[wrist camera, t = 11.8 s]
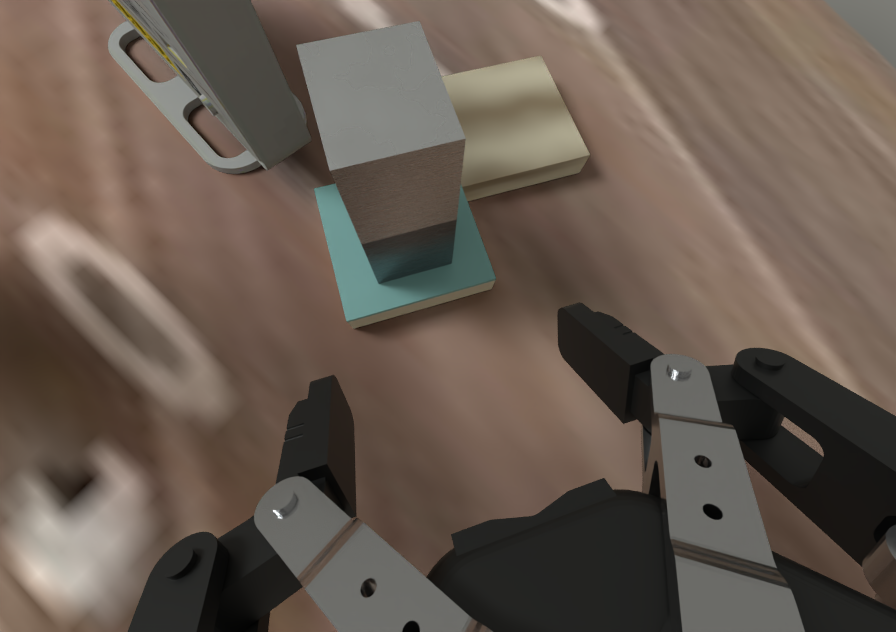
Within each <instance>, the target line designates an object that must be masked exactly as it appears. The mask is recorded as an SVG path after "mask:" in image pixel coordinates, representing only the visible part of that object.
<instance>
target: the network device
mask: <svg viewBox="0 0 896 632" xmlns="http://www.w3.org/2000/svg"><path fill="white" fill-rule="evenodd" d="M108 1H109V2H110V3H111V4H112V5H113V6H114V7H115V8H116V10H117V11H118V12H119V13H120V14H121V15H122V16H123V17H124V18H125V19H126V20H127V21H125V22H124V23H122V24H120V25H119V26H118V27H117V28H116V29H115V30H114V31H113V33H112V34H111V36H110V38H109V41H108V49H109V52H110V54H111V56H112V57H113V58H114V59H115V60H116V62H117V63H118V64H119V65H120V66H121V67H122V68H123V69H124V71H125V72H126V73H127V74H128V75H129V76H130V77H131V78H132V80H133V81H134V82H135V83H136V84H137V85H138V86H139V87H140V89H141V90H142V91H143V92H144V93H145V94H146V95H147V96H148V97H149V99H150V100H151V101H152V102H153V103H154V104H155V105H156V106H157V108H158V109H159V110H160V111H161V112H162V113H163V114H164V115H165V117H166V118H167V119H168V120H169V121H170V122H171V123H172V124H173V126H174V127H175V128H176V129H177V130H178V131H179V132H180V133H181V135H182V136H183V137H184V138H185V139H186V140H187V141H188V142H189V144H190V145H191V146H192V147H193V148H194V149H195V150H196V151H197V153H198V154H199V155H200V156H201V157H202V158H203V159H204V160H205V161H206V163H207V164H208V165H210V166H211V167H212V168H214V169H216V170H217V171H220V172H223V173H227V174H239V173H246V172H248V171H251V170H254V169H256V168H258V167H259V166H261V165H262V166H263V167H264V168H265V169H266V170H269V169H271V168H272V167H274V166H275V165H276V164H278V163H279V162H281V161H282V160H284V159H285V158H287V157H288V156H290V155H291V154H293V153H294V152H296V151H297V150H299V149H300V148H302V147H303V146H305V145H306V144H308V143H309V142H311V136H310V133H309V131H308V129H307V126H306V124H307V117H306V113H305V111H304V108H303V106H302V104H301V102H300V101H299V99H298V98H297V97H296V96H295V95H294V94H293V93H292V92H291V90H290V88H289V86H288V84H287V81H286V79H285V77H284V75H283V72H282V70H281V68H280V66H279V63H278V61H277V59H276V57H275V54H274V52H273V50H272V48H271V45H270V43H269V41H268V39H267V36H266V34H265V32H264V30H263V28H262V25H261V23H260V21H259V19H258V16H257V14H256V12H255V10H254V7H253V5H252V3H251V1H250V0H108ZM139 36H142V37H143V39H144V40H145V41H146V42H147V43H148V44H149V45H150V46H151V47H152V48H153V49H154V50H155V51H156V53H157V54H158V55H159V56H160V57H161V58H162V59H163V60H164V61H165V62H166V63H167V64H168V65H169V66H170V68H171V69H172V70H173V71H174V72H175V73H176V74H177V75H178V76H176V77H175V78H173V79H171V80H169V81H167V82H163V83H156V82H152V81H150V80H149V79H148V78H147V77H146V76H145V75H144V73H143V72H142V71H141V70H140V69H139V68H138V67H137V66H136V65H135V64H134V62H133V61H132V60H131V59H130V58H129V57H128V56H127V55H126V53H125V48H126V46H127V44H128V43H129V42H130V41H132V40H134V39H136V38H138V37H139ZM201 104H203V105H204V106H205V107H206V108H207V109H208V111H209V112H210V113H211V114H212V115H213V116H216V117H217V118H218V119H219V120H220V121H221V122H222V123H223V124H224V126H225V127H226V128H227V129H228V130H229V131H230V132H231V133H232V134H233V135H234V136H235V137H236V138H237V140H238V141H239V142H240V143H241V144H242V145H243V146H244V147H245V148H246V149H247V150H246V151H245V152H243V153H242V154H240V155H238V156H237V157H234V158H222V157H220V156H218V155H217V154H216V153H215V152H214V151H213V150H212V149H211V148H210V146H209V145H208V144H207V143H206V142H205V141H204V140H203V139H202V138H201V137H200V135H199V134H198V133H197V132H196V131H195V130H194V129H193V128H192V127H191V125H190V124H189V122H188V116H189V114H190V112H191V111H192V110H193V109H195V108H196V107H198V106H200V105H201Z"/></svg>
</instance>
